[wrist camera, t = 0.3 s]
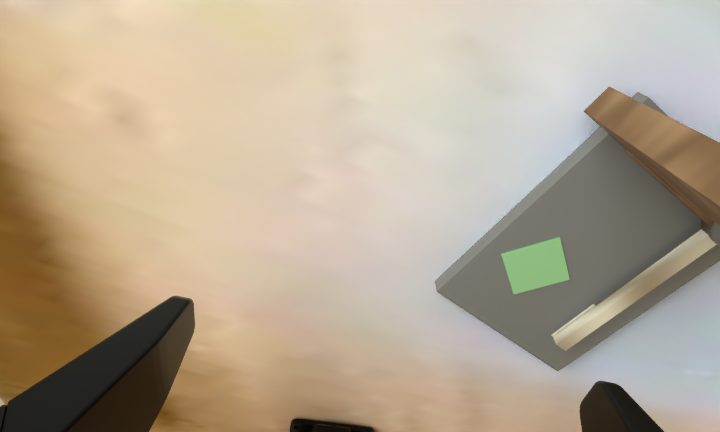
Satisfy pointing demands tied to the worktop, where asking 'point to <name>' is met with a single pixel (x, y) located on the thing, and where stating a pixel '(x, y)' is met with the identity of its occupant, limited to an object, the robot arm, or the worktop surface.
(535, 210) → the gray rectangular base plate
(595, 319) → the pull lever
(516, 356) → the worktop surface
